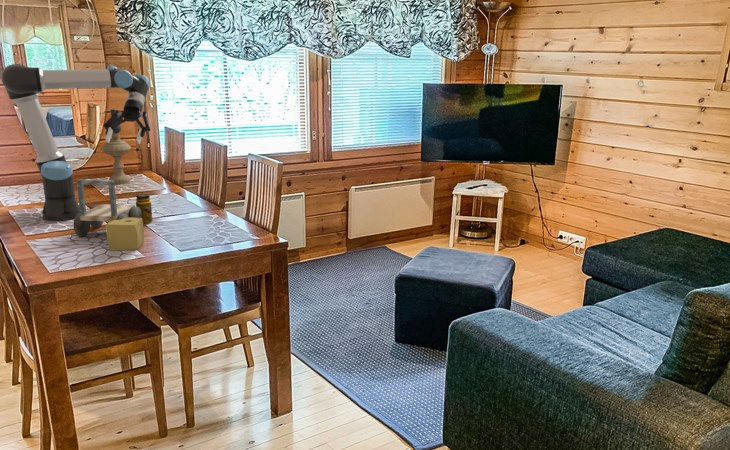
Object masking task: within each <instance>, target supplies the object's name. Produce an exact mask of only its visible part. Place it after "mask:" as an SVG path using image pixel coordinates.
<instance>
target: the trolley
mask: <svg viewBox="0 0 730 450" xmlns="http://www.w3.org/2000/svg"><path fill="white" fill-rule="evenodd" d="M84 185H88V186H89V185H92V186H108V194H109V204H106V203H101V204H99V205H92V206H91V207H90V209H89V210H87V206H86V199H85V197H86V196H85V190H84V189H85V188H84ZM115 185H116V184H114V180H109V179H82V178H80V179H79V178H78V179H76V189H77V198H78V205H79V208H80V213H78V214H77V215H76V216H75V218H74V219H73V231H74V233H75V235H76V236H78V237H86V236H88V234H89V232H90V229H91V227H92V228H101V227H102V226H103V224H104V222H111V221H113V220H120V219H123V218H142V212H141V209H140V208H139V207H136V204H133V205H132V204H117V199H116V198H117V197H116V189H115V188H116V186H115Z"/></svg>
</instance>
